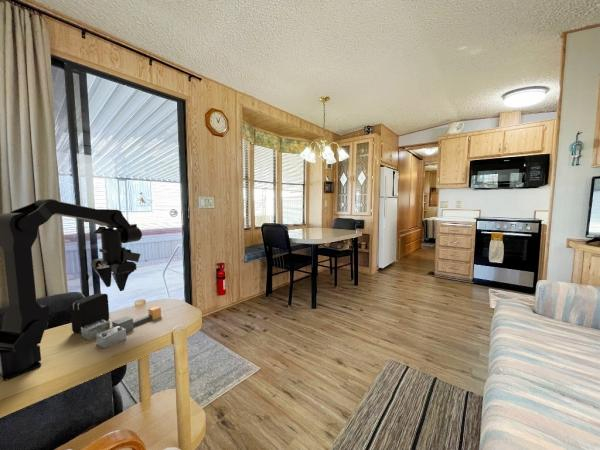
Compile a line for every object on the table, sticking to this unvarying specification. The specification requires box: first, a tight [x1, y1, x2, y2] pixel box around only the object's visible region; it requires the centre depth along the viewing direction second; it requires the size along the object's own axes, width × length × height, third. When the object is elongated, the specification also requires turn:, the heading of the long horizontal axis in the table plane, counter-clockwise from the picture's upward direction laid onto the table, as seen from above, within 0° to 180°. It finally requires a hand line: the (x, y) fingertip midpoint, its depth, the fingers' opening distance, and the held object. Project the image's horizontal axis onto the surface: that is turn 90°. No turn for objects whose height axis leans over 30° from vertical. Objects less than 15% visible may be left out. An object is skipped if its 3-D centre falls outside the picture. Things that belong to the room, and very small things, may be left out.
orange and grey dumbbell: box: [109, 305, 162, 332], centre depth 88 cm, size 16×4×4 cm, turn 151°
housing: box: [80, 319, 127, 349], centre depth 79 cm, size 6×14×4 cm, turn 61°
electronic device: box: [69, 293, 110, 333], centre depth 87 cm, size 4×10×10 cm, turn 174°
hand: (115, 288), depth 90 cm, fingers open, 9 cm apart
